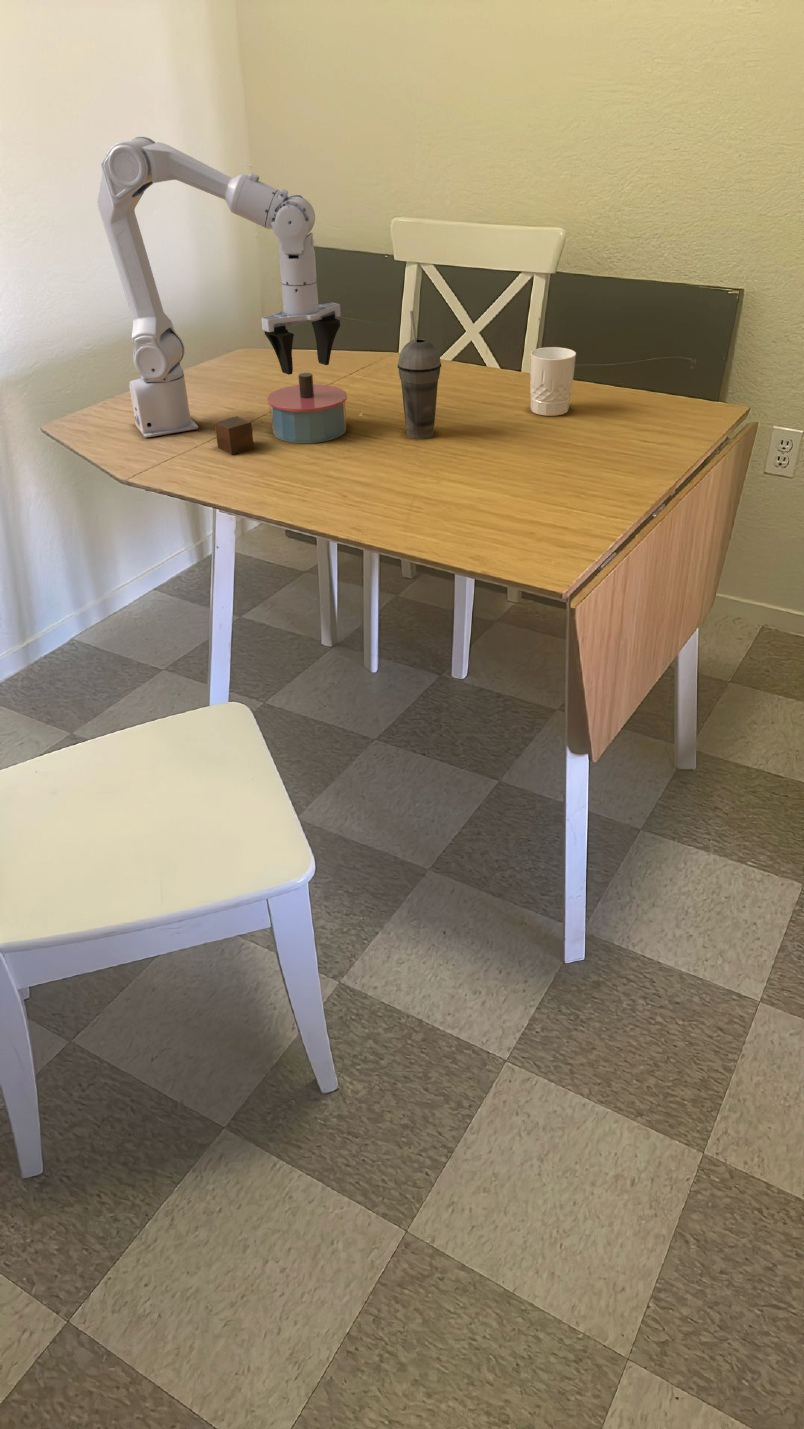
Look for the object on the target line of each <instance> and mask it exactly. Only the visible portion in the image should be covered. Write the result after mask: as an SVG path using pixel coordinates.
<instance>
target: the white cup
mask: <svg viewBox="0 0 804 1429" xmlns="http://www.w3.org/2000/svg"><path fill="white" fill-rule="evenodd" d="M576 359H577V352H576V351H575V350H574V349H570V348H567V347H561V346H560V347H559V346H547V347H539V348H536V349H533V350H531V351H530V360H529V361H530V364H529V366H530V368H529V369H530V372H529V375H530V376H529V383H530V386H529V387H530V389H529V390H530V410H531V412H532V413H534V414H537V415H539V416H545V417H555V416H561V415H562V416H563V415H565V414H567V413H568V411H569V409H570V401H571V396H572V390H573V383H574V375H575V368H576Z"/></svg>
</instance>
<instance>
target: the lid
mask: <svg viewBox="0 0 804 1429" xmlns="http://www.w3.org/2000/svg"><path fill="white" fill-rule="evenodd" d="M297 377H298V384H295V385H289V386H285V387H282V388H279V389H276V390H274V391H272V392H271V393H269V394H268V396H267V398H266V402H267V404H268V405H269V407H270V406H271V407H273V408H276V409H279V410H284V411H292V412H312V411H320V410H326V409H330V408H333V407H336V406H339V405H341V404H342V403H344V402H345V403H346V401H347V399H348V393H347V392H346V390H344V389H342V388H340V387H338V386H333V385H328V384H319V383H318V384H316V383H315V384H314V375H313V373H312V372H301V373H298V376H297Z"/></svg>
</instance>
